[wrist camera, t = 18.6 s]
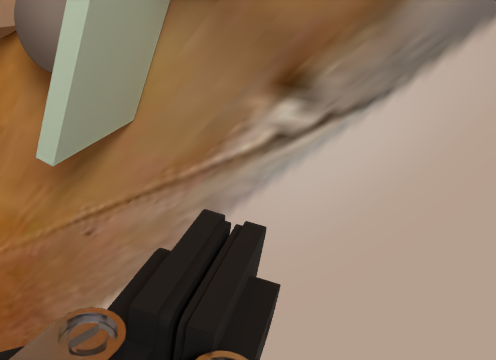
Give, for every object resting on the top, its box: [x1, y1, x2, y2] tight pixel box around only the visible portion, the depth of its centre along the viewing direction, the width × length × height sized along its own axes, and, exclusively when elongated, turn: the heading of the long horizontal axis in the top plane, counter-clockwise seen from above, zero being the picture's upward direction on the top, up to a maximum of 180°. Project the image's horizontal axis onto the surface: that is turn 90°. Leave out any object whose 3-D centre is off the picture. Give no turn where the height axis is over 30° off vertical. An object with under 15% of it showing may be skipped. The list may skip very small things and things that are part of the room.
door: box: [36, 0, 170, 166], centre depth 28 cm, size 15×1×10 cm, turn 157°
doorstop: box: [14, 0, 67, 73], centre depth 31 cm, size 6×6×6 cm
